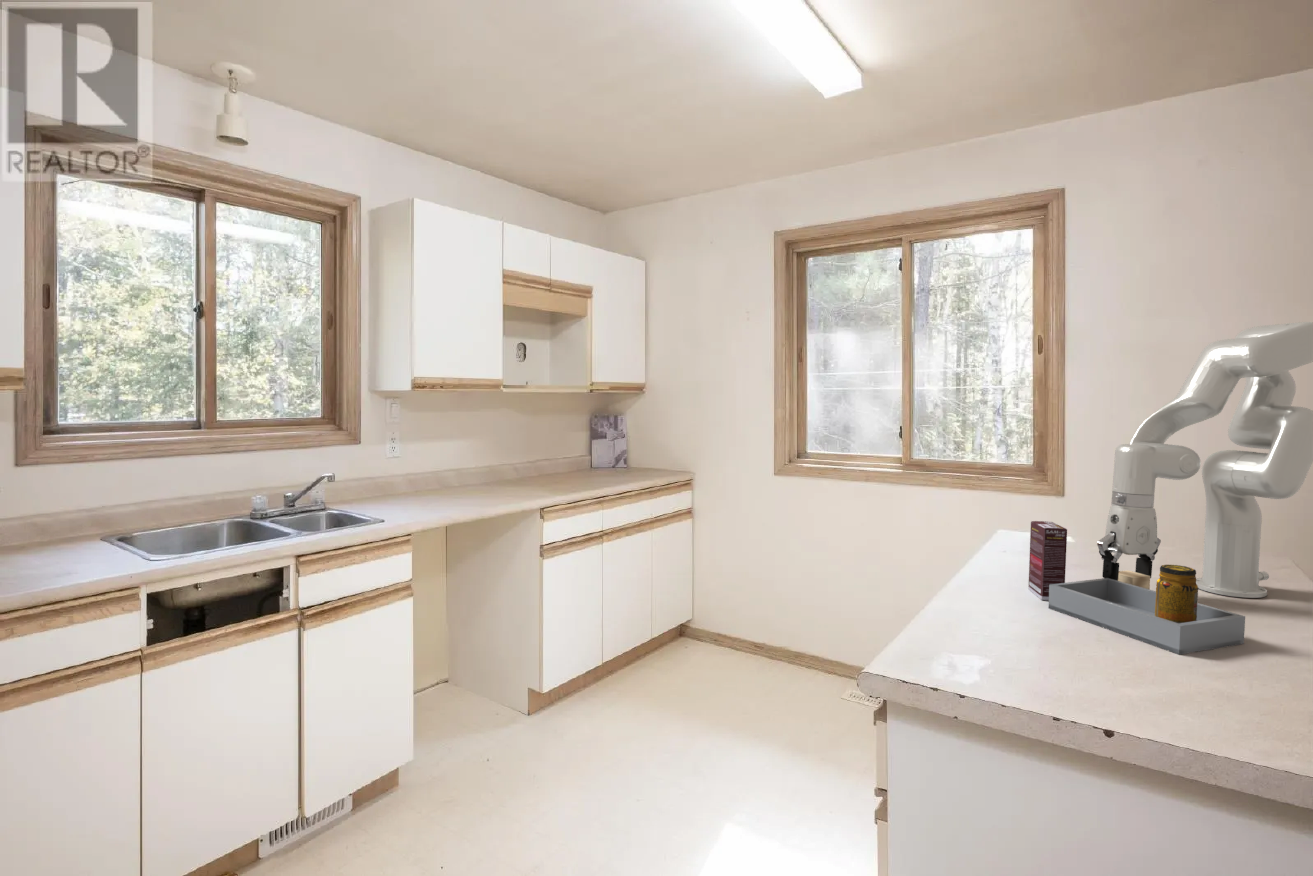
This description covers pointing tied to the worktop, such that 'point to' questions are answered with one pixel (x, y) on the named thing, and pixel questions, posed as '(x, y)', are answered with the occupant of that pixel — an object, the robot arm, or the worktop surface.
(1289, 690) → the worktop surface
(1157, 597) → the condiment
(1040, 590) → the supplement box
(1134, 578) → the cube
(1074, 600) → the tote
